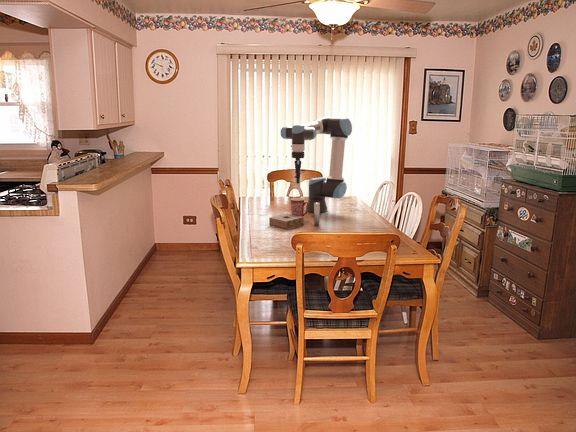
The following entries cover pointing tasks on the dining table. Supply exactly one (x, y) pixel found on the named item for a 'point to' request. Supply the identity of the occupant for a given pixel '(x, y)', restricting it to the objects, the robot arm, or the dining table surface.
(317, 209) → the pin
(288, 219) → the bore block
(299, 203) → the mug
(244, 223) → the dining table surface
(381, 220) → the dining table surface
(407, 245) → the dining table surface
